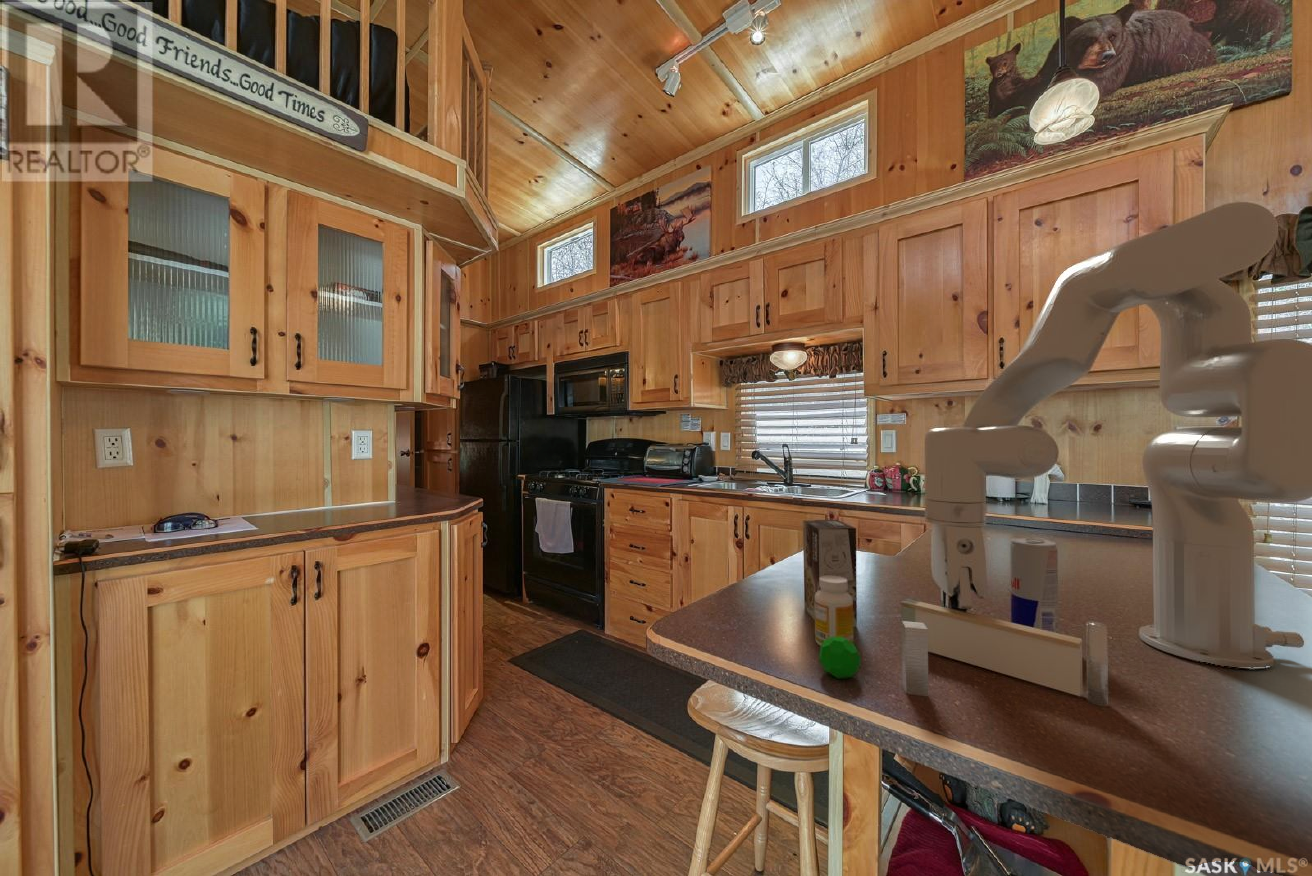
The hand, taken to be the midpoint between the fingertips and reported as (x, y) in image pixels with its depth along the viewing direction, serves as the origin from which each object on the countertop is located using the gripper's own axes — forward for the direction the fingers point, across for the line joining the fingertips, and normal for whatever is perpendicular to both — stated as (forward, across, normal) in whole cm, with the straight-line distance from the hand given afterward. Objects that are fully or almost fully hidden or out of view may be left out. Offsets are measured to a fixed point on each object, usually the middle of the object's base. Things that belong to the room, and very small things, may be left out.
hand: (955, 638), depth 70 cm
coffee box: (+2, +8, +17) cm, 19 cm away
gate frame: (+1, -13, -2) cm, 13 cm away
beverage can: (+2, +7, -12) cm, 14 cm away
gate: (+1, -6, -2) cm, 6 cm away
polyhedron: (+2, -13, +16) cm, 21 cm away
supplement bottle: (+2, -3, +17) cm, 17 cm away
